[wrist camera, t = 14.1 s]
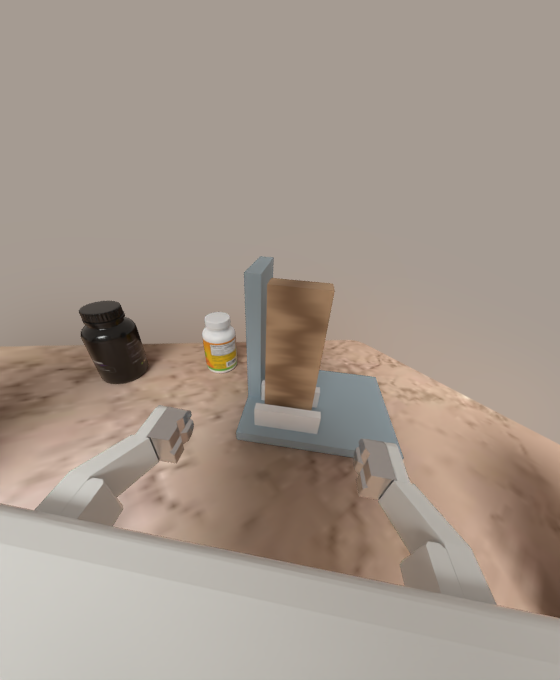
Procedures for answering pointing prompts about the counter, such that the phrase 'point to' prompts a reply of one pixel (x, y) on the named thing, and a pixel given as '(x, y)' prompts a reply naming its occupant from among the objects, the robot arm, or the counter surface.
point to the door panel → (295, 340)
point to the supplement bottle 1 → (113, 342)
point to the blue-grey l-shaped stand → (329, 399)
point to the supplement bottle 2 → (219, 343)
